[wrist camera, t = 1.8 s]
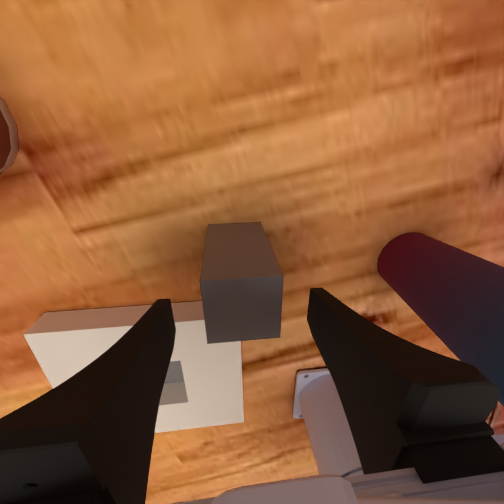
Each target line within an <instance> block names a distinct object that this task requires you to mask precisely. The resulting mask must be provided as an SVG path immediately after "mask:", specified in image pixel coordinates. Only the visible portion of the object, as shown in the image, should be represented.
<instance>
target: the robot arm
mask: <svg viewBox="0 0 504 504" xmlns="http://www.w3.org/2000/svg"><path fill="white" fill-rule="evenodd" d="M307 321H308V324H309V327H310V330H311V333H312V336H313V338H314V341H315V343H316V345H317V347H318V349H319V351H320V353H321V355H322V358H323V360H324V362H325V364H326V366H327V368H324V369H314V370H305V371H299V372H298V373H297V374H296V384H295V394H294V404H293V418H295V419H300V418H304V422H305V425H306V429H307V432H308V436H309V439H310V443H311V446H312V450H313V453H314V457H315V460H316V464H317V468H318V471H319V475H315V476H309V477H302V478H295V479H288V480H281V481H275V482H268V483H261V484H254V485H247V486H242V487H238V488H234V489H231V490H227V491H225V492H224V493H222V494H221V495H219V496H218V497H213V498H206V499H199V500H193V501H186V502H179V503H173V504H504V443H503V444H501V445H500V446H499V445H498V443H497V442H496V441H495V440H494V439H493V438H492V437H491V435H493V434H494V431H493V429H492V428H491V427H490V426H489V425H488V424H487V423H486V422H485V420H486V419H487V417H488V416H489V415H490V413H491V412H492V410H493V409H494V407H495V406H496V404H497V402H498V400H499V390H498V388H497V386H496V385H495V384H494V383H492V382H491V381H490V380H489V379H488V378H487V377H486V376H485V375H484V374H483V373H482V372H481V371H480V370H478V369H477V368H476V367H475V366H474V365H471V364H467V363H464V362H461V361H458V360H455V359H452V358H449V357H446V356H443V355H440V354H438V353H435V352H432V351H430V350H427V349H425V348H422V347H420V346H418V345H415V344H413V343H411V342H408V341H406V340H404V339H402V338H400V337H398V336H396V335H394V334H392V333H390V332H388V331H386V330H384V329H382V328H381V327H379V326H377V325H375V324H374V323H372V322H370V321H369V320H367V319H365V318H364V317H362V316H361V315H359V314H358V313H356V312H355V311H353V310H352V309H350V308H349V307H348V306H346V305H345V304H343V303H342V302H341V301H339V300H338V299H337V298H335V297H334V296H333V295H331V294H330V293H329V292H327V291H326V290H324V289H323V288H310V296H309V305H308V314H307ZM175 334H176V327H175V322H174V317H173V311H172V306H171V301H170V299H158V300H157V301H156V302H155V303H154V304H153V305H152V306H151V307H150V308H149V309H148V310H147V311H146V313H145V314H144V315H143V316H142V317H141V318H140V319H139V320H138V321H137V322H136V323H135V324H134V325H133V326H132V327H131V328H130V329H129V330H128V331H127V332H126V333H125V334H124V335H123V336H122V337H121V338H120V339H119V340H118V341H117V342H116V343H115V344H114V345H112V346H111V347H110V348H109V349H108V350H107V351H105V352H104V353H103V354H102V355H100V356H99V357H98V358H97V359H95V360H94V361H93V362H91V363H90V364H89V365H87V366H86V367H85V368H83V369H82V370H80V371H79V372H78V373H76V374H75V375H73V376H72V377H70V378H69V379H67V380H66V381H64V382H63V383H61V384H60V385H58V386H57V387H55V388H53V389H52V390H50V391H49V392H47V393H45V394H44V395H42V396H40V397H39V398H37V399H35V400H33V401H32V402H30V403H28V404H26V405H24V406H23V407H21V408H19V409H17V410H15V411H13V412H12V413H10V414H8V415H6V416H4V417H2V418H1V419H0V504H145V499H146V491H147V483H148V475H149V467H150V460H151V453H152V446H153V439H154V433H155V426H156V420H157V414H158V408H159V403H160V398H161V394H162V390H163V386H164V383H165V379H166V375H167V371H168V368H169V364H170V360H171V357H172V353H173V349H174V342H175Z"/></svg>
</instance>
